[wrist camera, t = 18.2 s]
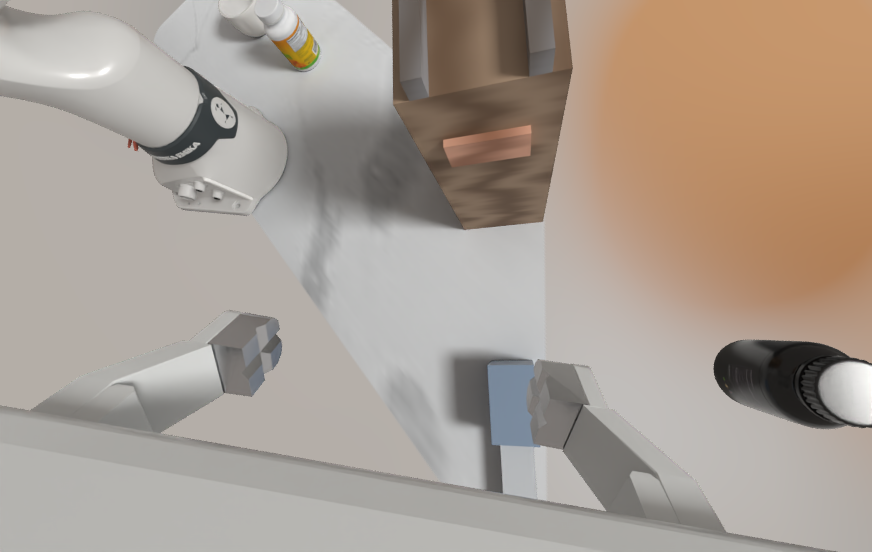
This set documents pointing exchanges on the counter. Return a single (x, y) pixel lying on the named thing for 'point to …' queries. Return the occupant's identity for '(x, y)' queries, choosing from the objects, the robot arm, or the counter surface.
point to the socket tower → (484, 100)
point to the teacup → (242, 16)
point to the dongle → (513, 425)
